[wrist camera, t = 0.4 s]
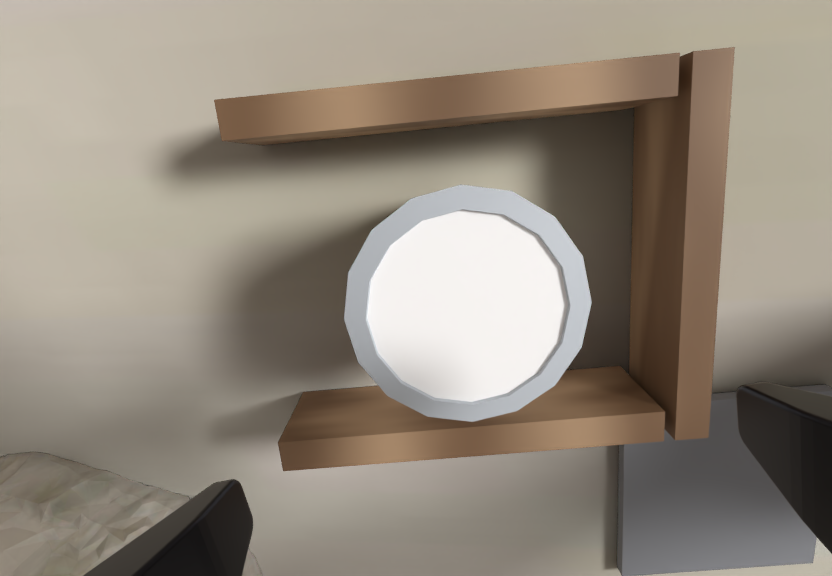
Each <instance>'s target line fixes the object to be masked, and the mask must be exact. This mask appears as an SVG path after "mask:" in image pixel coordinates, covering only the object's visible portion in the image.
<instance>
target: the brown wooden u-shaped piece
mask: <svg viewBox="0 0 832 576" xmlns="http://www.w3.org/2000/svg"><path fill="white" fill-rule="evenodd" d="M734 49H735V47H732V48H722V49H712V50H702V51H693V52H691V53H688V54H686V55H683V56H681V57H680V53H673V54H663V55H653V56H643V57H633V58H623V59H613V60H603V61H593V62H584V63H574V64H564V65H554V66H544V67H534V68H524V69H514V70H505V71H495V72H485V73H475V74H465V75H455V76H445V77H435V78H425V79H416V80H406V81H396V82H386V83H376V84H366V85H356V86H346V87H337V88H327V89H317V90H307V91H297V92H287V93H277V94H267V95H258V96H248V97H238V98H228V99H218V100H214V102H215V107H216V112H217V118H218V123H219V129H220V134H221V139H222V141H227V142H237V143H246V144H256V145H269V144H280V143H290V142H300V141H310V140H320V139H331V138H341V137H351V136H361V135H371V134H381V133H392V132H402V131H412V130H422V129H432V128H443V127H453V126H463V125H473V124H483V123H494V122H504V121H514V120H524V119H534V118H544V117H555V116H565V115H575V114H585V113H595V112H606V111H616V110H625V109H628V108H632V107H634V146H633V197H632V249H631V300H630V351H629V374H628V373H627V372H626V371H625V370H624V369H623V368H622V367H621V366H612V367H600V368H588V369H576V370H566V371H565V372H564V373H563V375H562V376H561V378H560V379H559V381H558V382H557V383H556V385H555V386H554V387H552V388H551V389H549V390H548V391H546V392H545V393H543V394H542V395H540V396H539V397H537V398H536V399H534V400H533V401H531V402H530V403H528V404H527V405H525V406H524V407H522V408H521V409H519V410H518V411H515V412H511V413H507V414H503V415H499V416H495V417H490V418H486V419H482V420H478V421H474V422H469V421H461V420H452V419H443V418H435V417H427V416H425V415H423V414H421V413H419V412H417V411H415V410H414V409H412V408H410V407H408V406H406V405H404V404H402V403H400V402H398V401H396V400H394V399H392V398H390V397H388V396H387V395H386V394H385V393H384V391H383V390H382V389H381V388H380V387H379V386H371V387H359V388H347V389H335V390H323V391H311V392H303V394H302V396H301V398H300V400H299V402H298V404H297V406H296V408H295V410H294V412H293V414H292V416H291V418H290V420H289V422H288V424H287V426H286V428H285V430H284V431H283V433H282V435H281V437H280V439H279V441H278V446H279V451H280V456H281V462H282V467H283V471H291V470H304V469H316V468H329V467H342V466H355V465H367V464H380V463H393V462H406V461H419V460H431V459H444V458H457V457H470V456H482V455H495V454H508V453H521V452H533V451H546V450H559V449H572V448H585V447H597V446H610V445H623V444H636V443H648V442H661V441H664V429H665V430H666V431H667V432H668V433H669V434H670V435H671V437H672V438H673V439H674V440H687V439H700V438H709V423H710V408H711V393H712V378H713V363H714V348H715V333H716V319H717V304H718V289H719V274H720V259H721V244H722V229H723V214H724V199H725V184H726V169H727V154H728V139H729V124H730V109H731V94H732V79H733V64H734Z"/></svg>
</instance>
